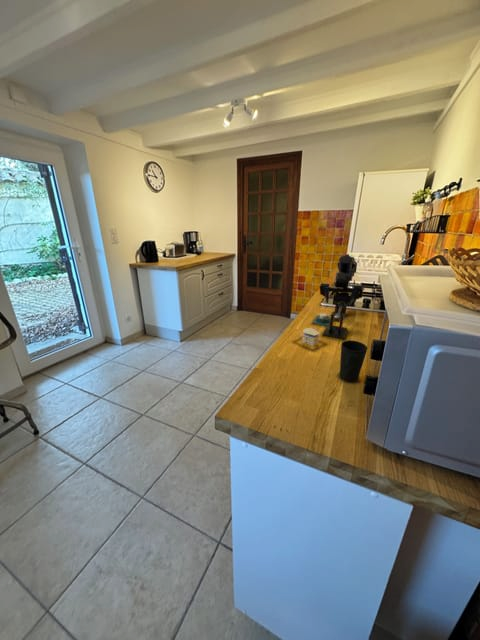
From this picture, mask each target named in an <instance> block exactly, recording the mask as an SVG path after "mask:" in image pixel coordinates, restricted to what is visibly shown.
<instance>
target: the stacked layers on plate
mask: <svg viewBox="0 0 480 640" xmlns="http://www.w3.org/2000/svg"><path fill="white" fill-rule="evenodd" d="M302 332H303V333H302V338H301V340H302V343H303V344H305V345H309V346H311V347H314V346H317V345H318V343H319V342H320V339H319V338H320V335H319V334H320V331H318V330H316V329H314V328H311V327H305V328H304V329H303V330H302Z"/></svg>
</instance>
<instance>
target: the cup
mask: <svg viewBox="0 0 480 640" xmlns="http://www.w3.org/2000/svg"><path fill="white" fill-rule="evenodd" d="M367 351H368V346H367V345H366V343H365V344H364V343H363V342H360V341H358V340H343V341H342V342H341V344H340V364H339V365H340V366H339V377H340V379H341V380H343V382H346V383H356V382H357V381H358V380H359V377H360V374H361V370H362V367H363V365H364V361H365V358H366V354H367Z"/></svg>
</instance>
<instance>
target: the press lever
mask: <svg viewBox="0 0 480 640" xmlns="http://www.w3.org/2000/svg"><path fill="white" fill-rule="evenodd" d="M338 306H339V310H338V313H337V314H335V317H334V322H338V323H340V318H341V314H340V313H341V310H342V308H343V307H345V302H343V301H340V302H339V303H338Z"/></svg>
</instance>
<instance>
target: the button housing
mask: <svg viewBox="0 0 480 640" xmlns="http://www.w3.org/2000/svg"><path fill="white" fill-rule="evenodd" d="M319 317H320V314H318V315H317V316H316V317H315V318H314V320H313V321H312V325H318V326H322V327H327V326H328V325H330V321H331V318H330V315H329V316H328V315H327V318H326V319H322V318H319Z"/></svg>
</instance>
